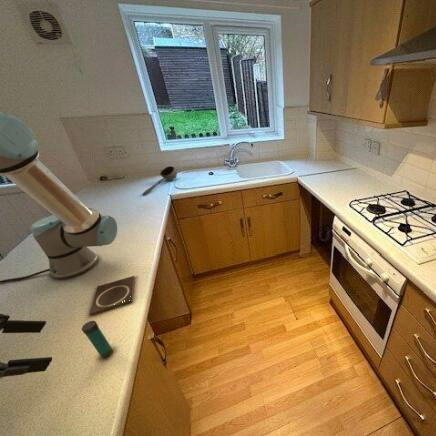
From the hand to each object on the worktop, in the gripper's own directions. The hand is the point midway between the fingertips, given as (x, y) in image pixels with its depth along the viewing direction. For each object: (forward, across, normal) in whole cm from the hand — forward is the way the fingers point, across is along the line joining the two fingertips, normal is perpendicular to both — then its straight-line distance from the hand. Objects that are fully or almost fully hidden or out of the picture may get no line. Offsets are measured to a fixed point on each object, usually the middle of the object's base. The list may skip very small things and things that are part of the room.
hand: (45, 344), depth 56 cm
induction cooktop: (+20, +24, -2) cm, 31 cm away
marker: (+15, 0, +4) cm, 15 cm away
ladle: (+59, +128, -41) cm, 147 cm away
